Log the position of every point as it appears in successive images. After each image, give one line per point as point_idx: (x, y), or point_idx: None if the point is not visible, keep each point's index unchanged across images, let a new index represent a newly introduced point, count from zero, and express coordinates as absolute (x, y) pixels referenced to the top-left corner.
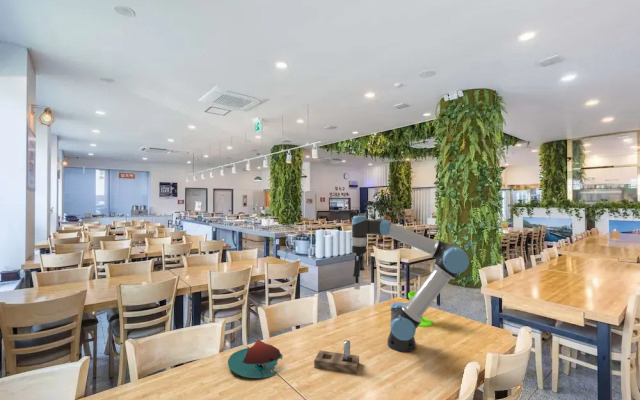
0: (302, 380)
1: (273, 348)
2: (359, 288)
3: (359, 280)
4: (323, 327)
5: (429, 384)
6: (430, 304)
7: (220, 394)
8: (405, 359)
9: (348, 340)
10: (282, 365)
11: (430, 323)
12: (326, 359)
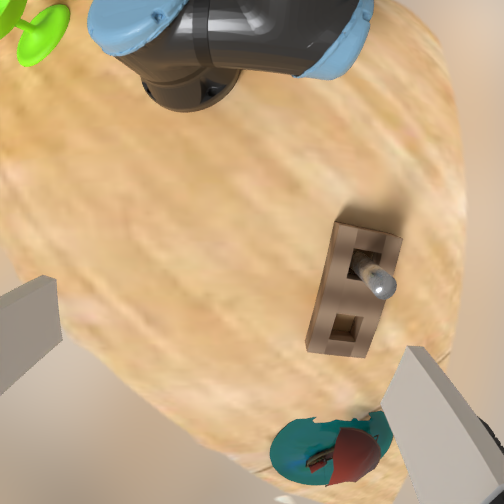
0: None
1: (340, 451)
2: (428, 354)
3: (483, 430)
4: (99, 331)
5: (412, 51)
6: None
7: None
8: None
9: (376, 282)
10: (344, 410)
11: (58, 7)
12: (364, 327)
